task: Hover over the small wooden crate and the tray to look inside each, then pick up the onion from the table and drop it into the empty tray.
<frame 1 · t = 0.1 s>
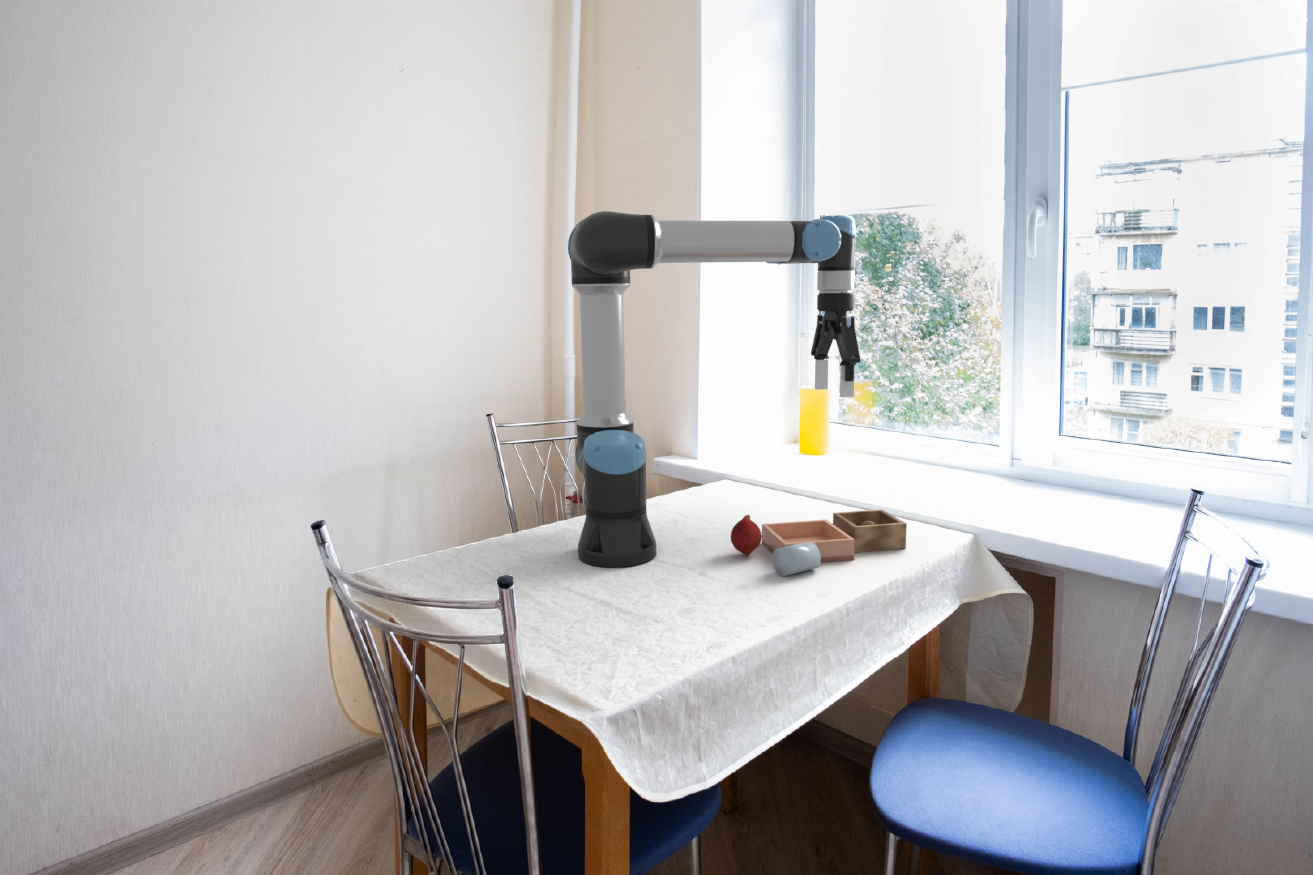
hand: (833, 393, 175), 28 cm above the table, tool pointing down, fingers open, 13 cm apart
onion: (745, 556, 157), on the table
pale blue capsule: (796, 571, 147), on the table
chestnut: (868, 529, 163), in the crate, point 3 cm above the table
tray: (806, 551, 158), on the table
crate: (868, 542, 163), on the table
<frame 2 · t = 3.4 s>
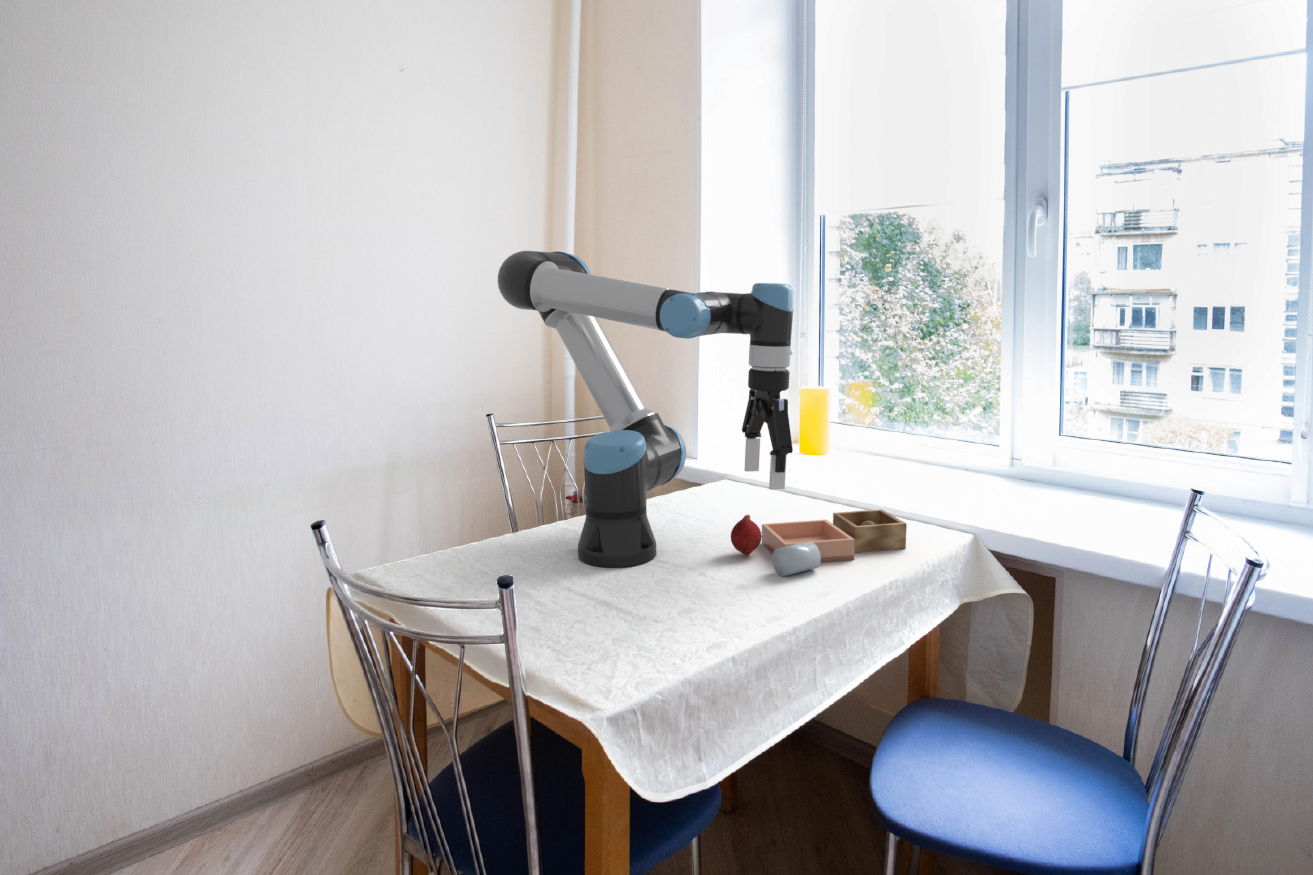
hand: (763, 479, 155), 14 cm above the table, tool pointing down, fingers open, 13 cm apart
nothing on the table moved.
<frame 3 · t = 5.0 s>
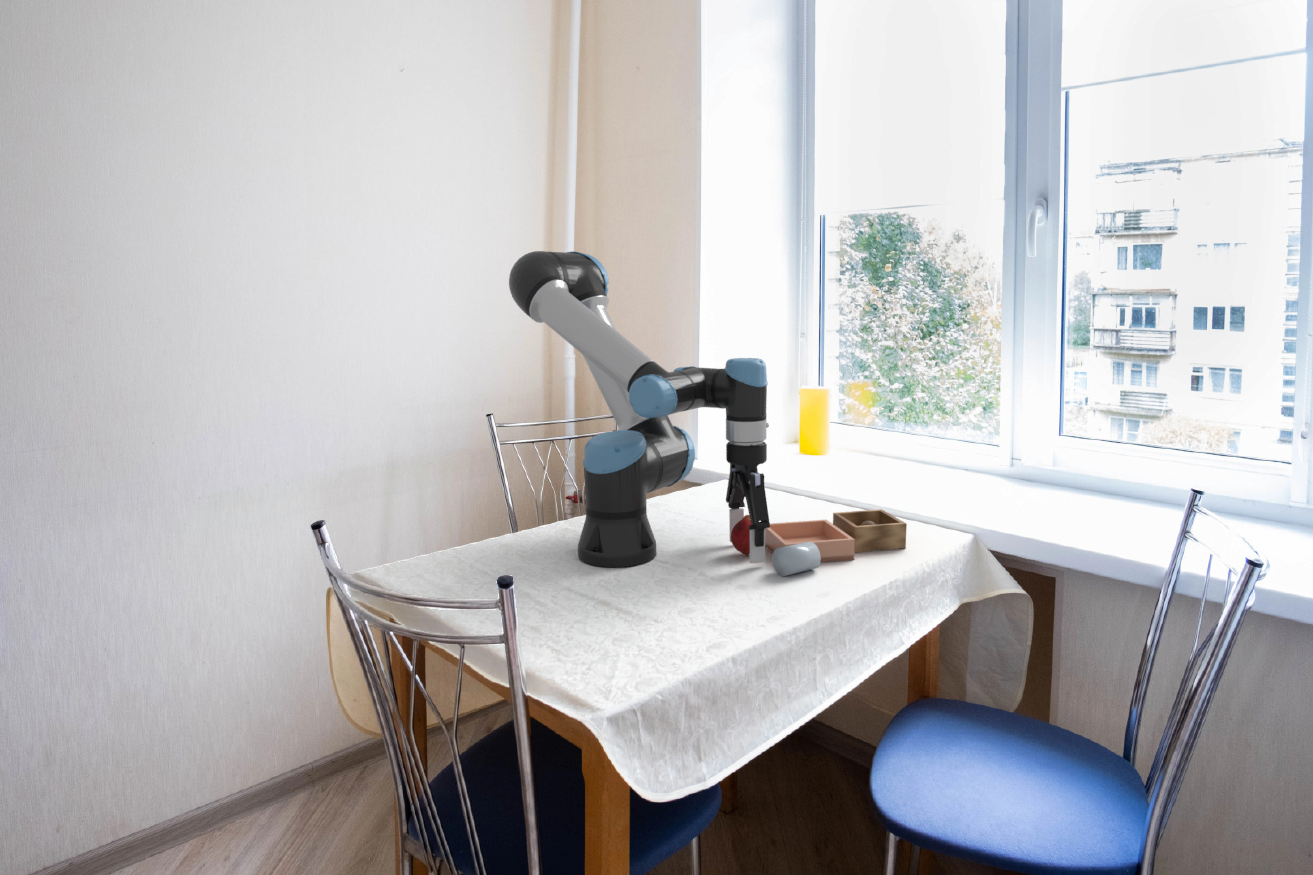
hand: (746, 551, 156), 1 cm above the table, tool pointing down, fingers open, 13 cm apart
nothing on the table moved.
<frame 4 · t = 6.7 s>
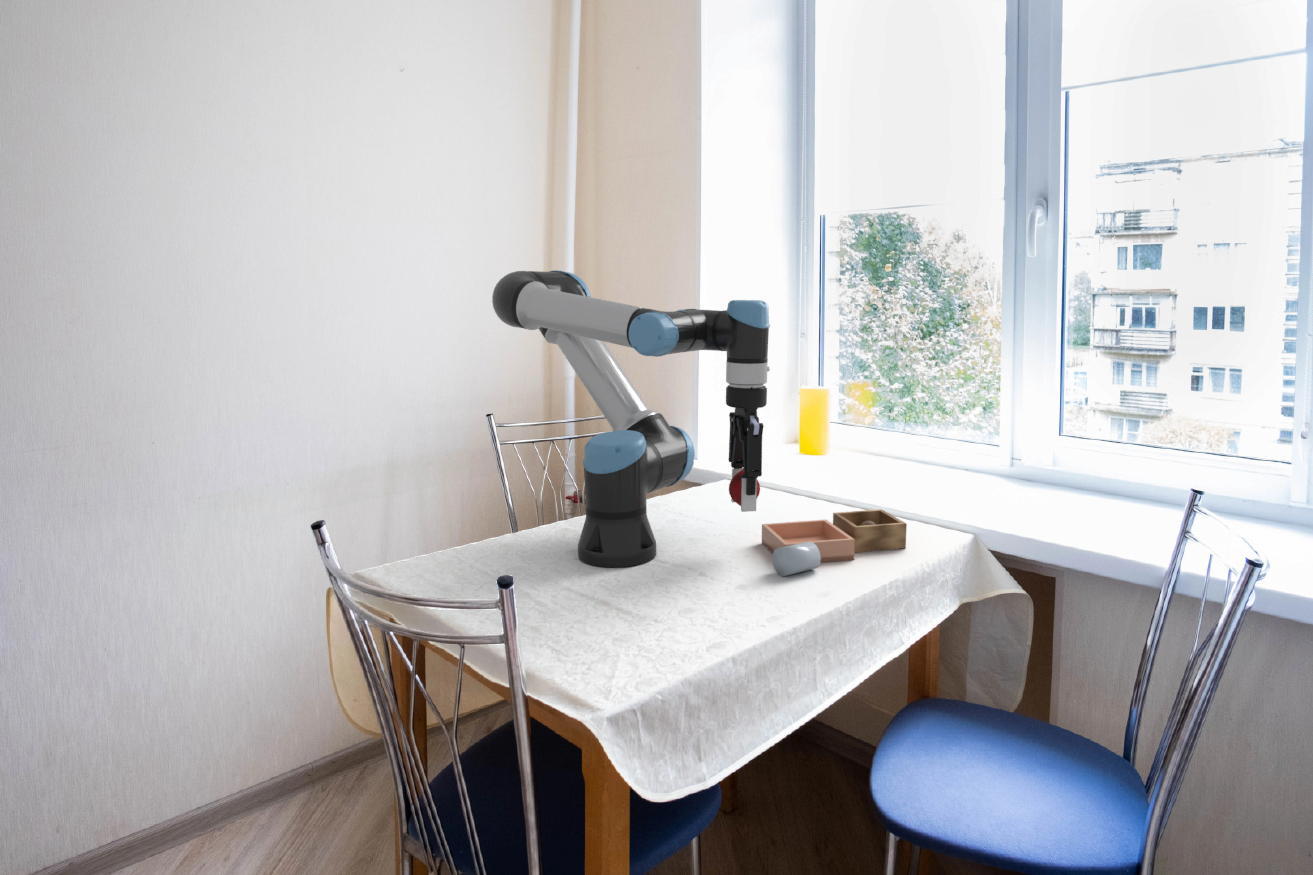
hand: (743, 505, 155), 10 cm above the table, tool pointing down, fingers closed on onion, 6 cm apart
onion: (743, 508, 155), point 9 cm above the table, touching gripper
everything else where it was.
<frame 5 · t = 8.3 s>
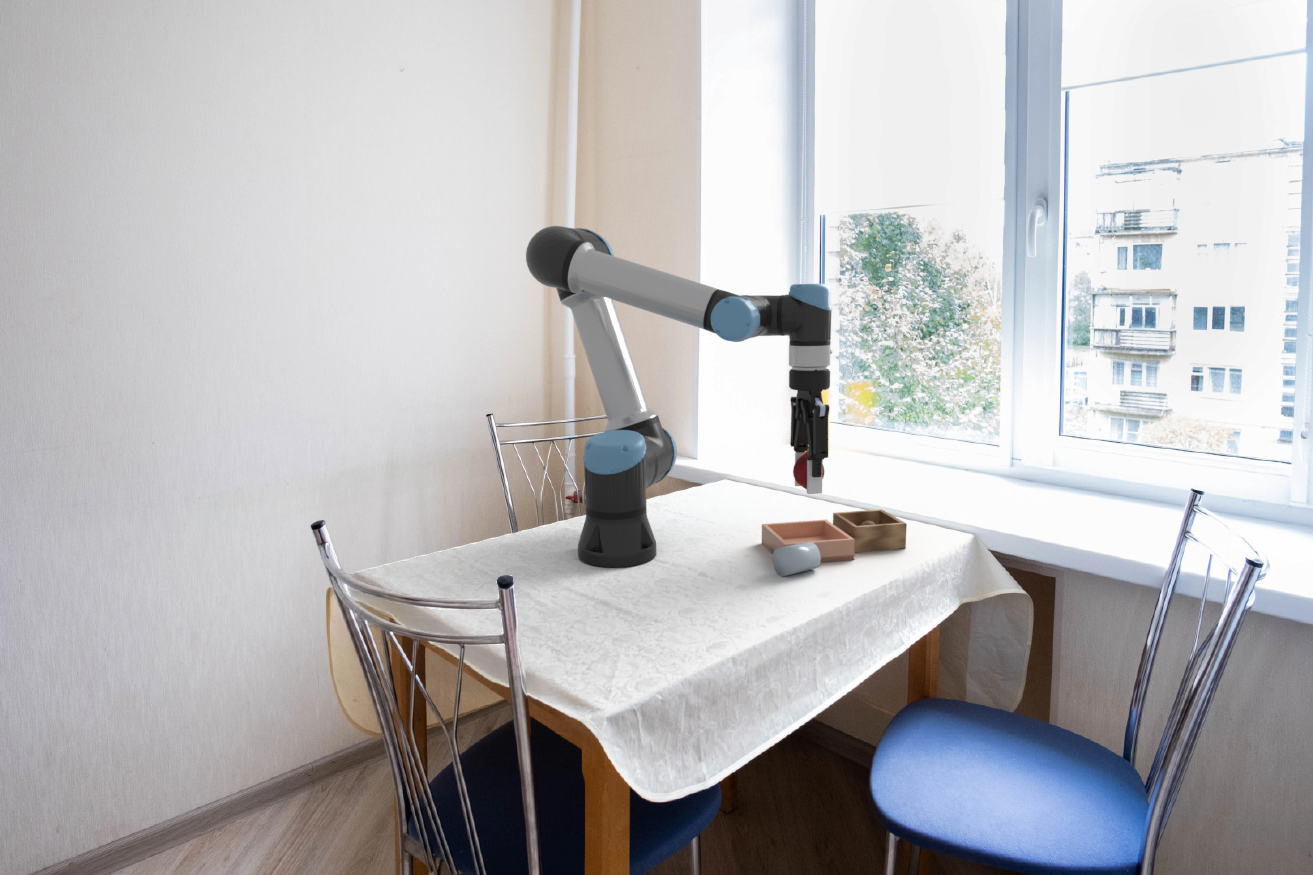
hand: (808, 488, 156), 12 cm above the table, tool pointing down, fingers closed on onion, 6 cm apart
onion: (808, 491, 156), point 12 cm above the table, touching gripper
everything else where it was.
when the fingers open (4 cm above the table, at t = 10.1 s): onion drops 3 cm, resting on tray.
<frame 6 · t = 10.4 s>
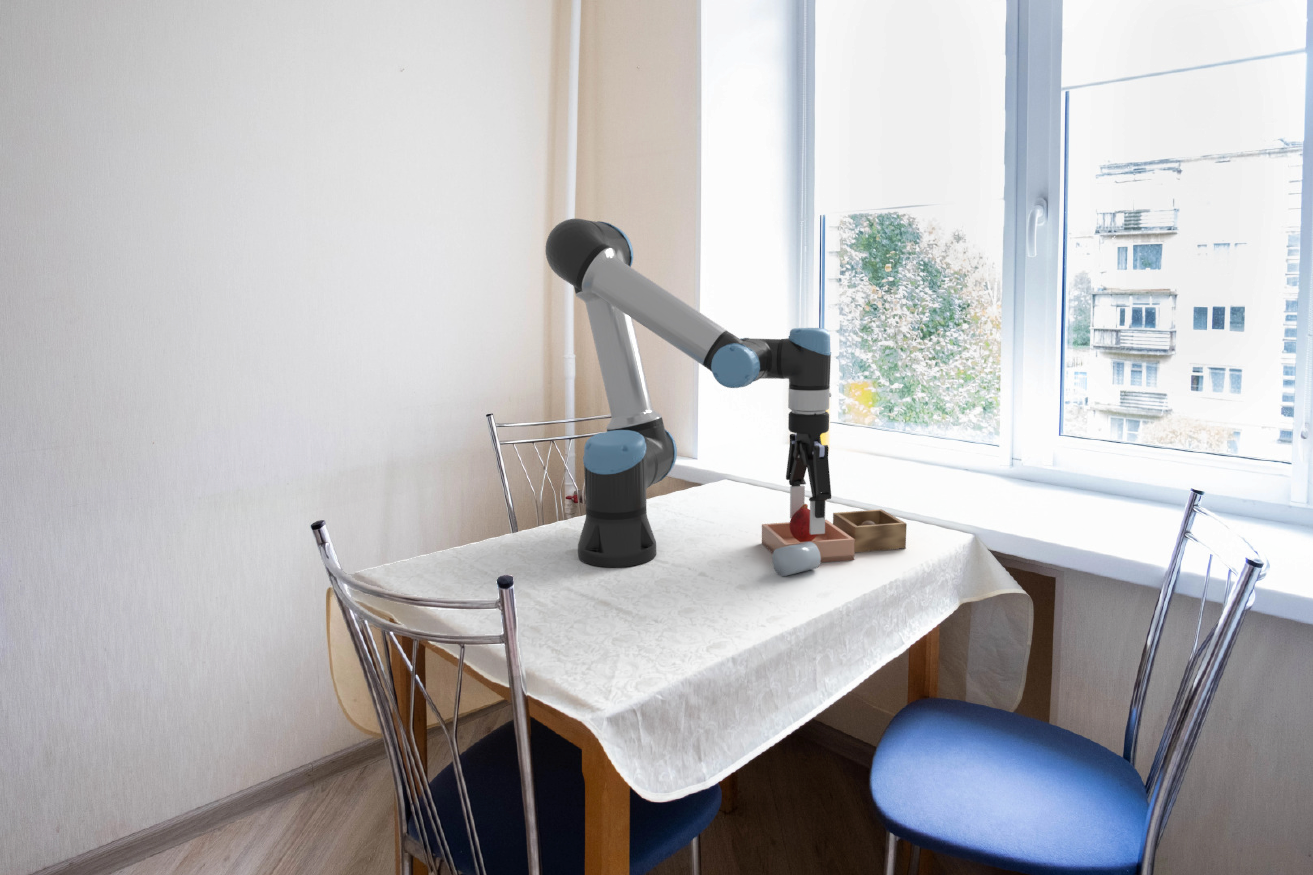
hand: (806, 525, 157), 5 cm above the table, tool pointing down, fingers open, 10 cm apart
onion: (805, 545, 158), point 1 cm above the table, touching tray
everything else where it was.
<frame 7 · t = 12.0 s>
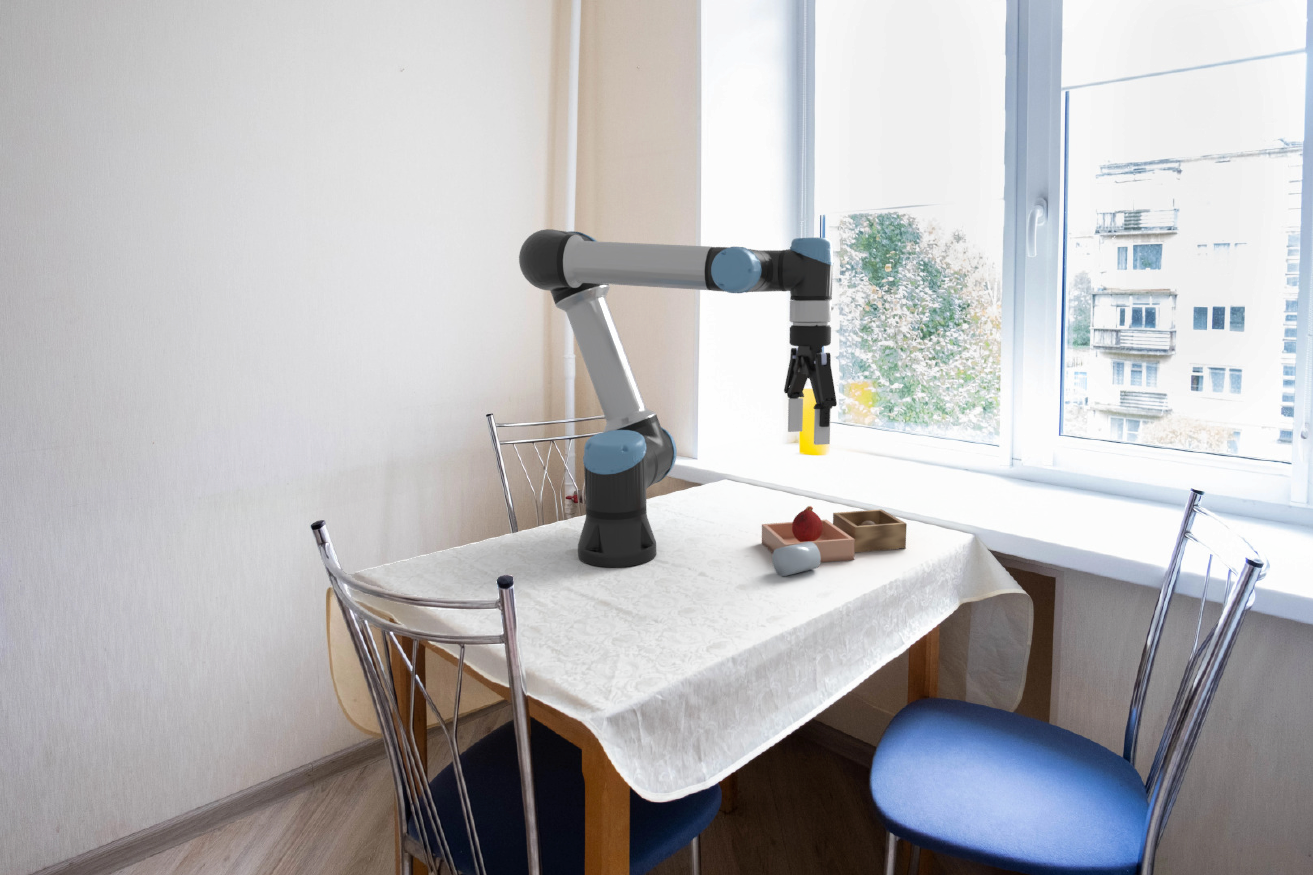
hand: (807, 437, 154), 22 cm above the table, tool pointing down, fingers open, 13 cm apart
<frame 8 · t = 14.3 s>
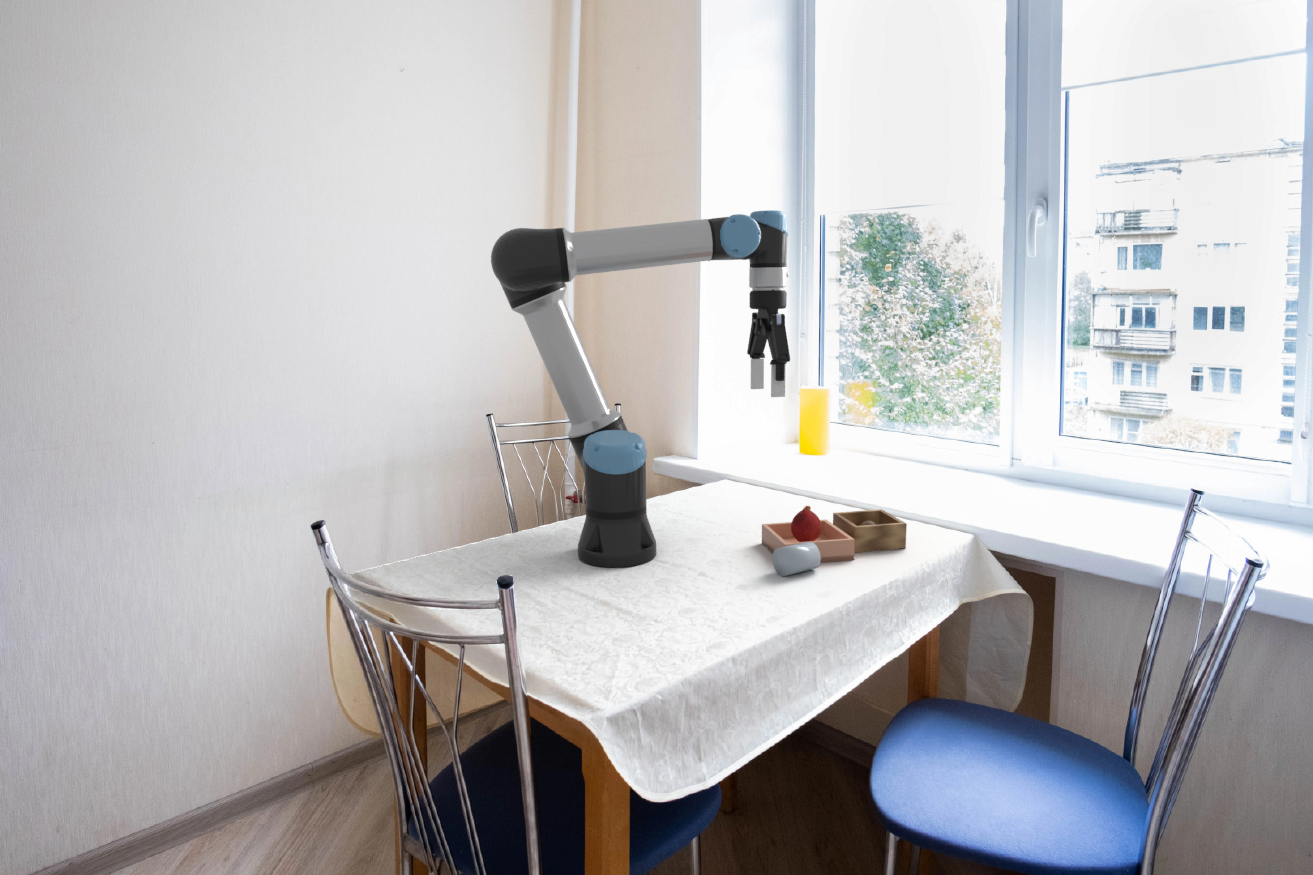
hand: (767, 392, 171), 29 cm above the table, tool pointing down, fingers open, 13 cm apart
nothing on the table moved.
at the end: onion inside the target area on the tray (0.4 cm from its centre), point 0.8 cm above the tray's base; the gripper is holding nothing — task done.
